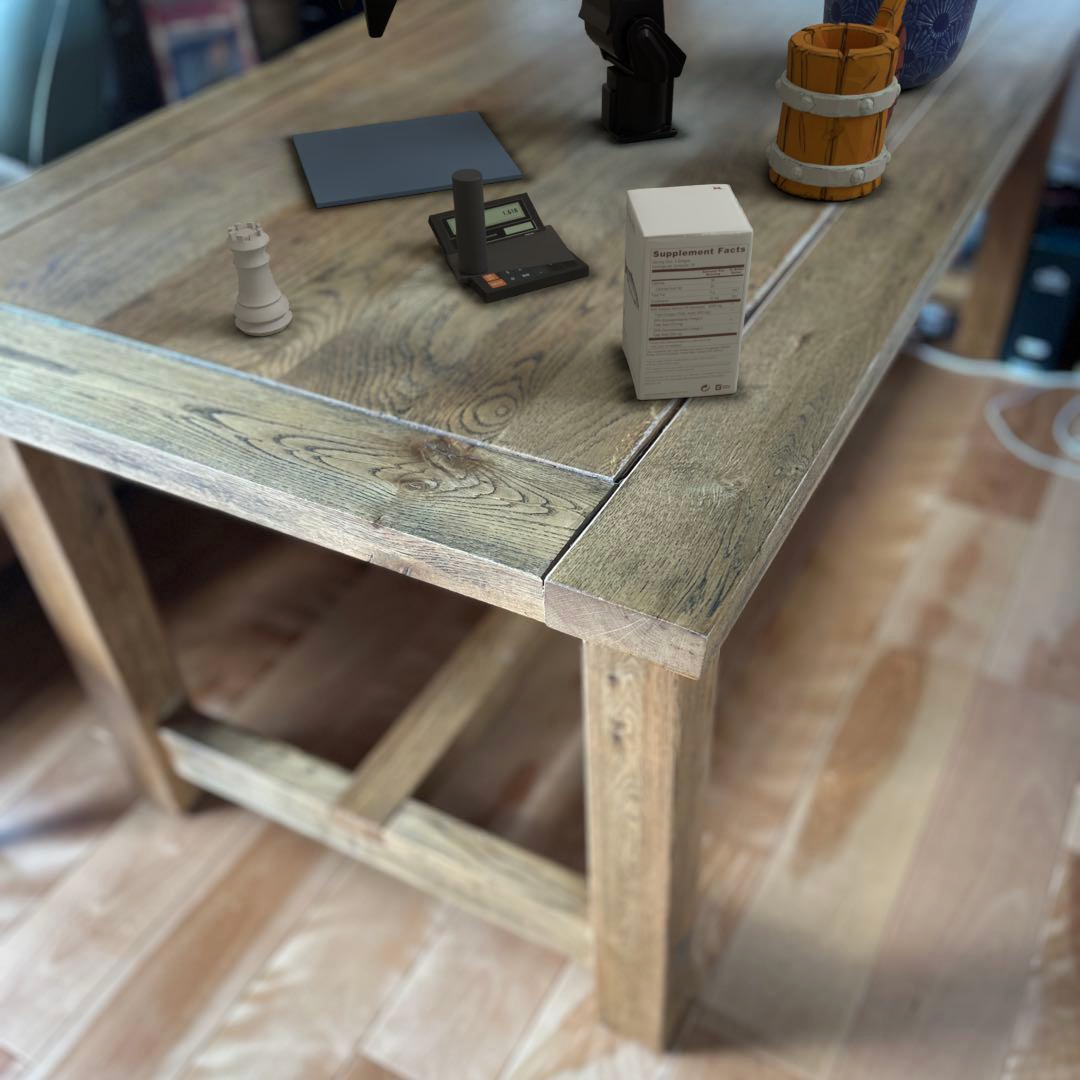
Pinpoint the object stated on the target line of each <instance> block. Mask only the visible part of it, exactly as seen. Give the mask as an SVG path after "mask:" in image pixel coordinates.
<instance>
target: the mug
mask: <svg viewBox="0 0 1080 1080" xmlns="http://www.w3.org/2000/svg"><path fill="white" fill-rule="evenodd" d="M906 1H907V0H883V2H882V4H881V6H880V8H879V11H878V13H877V16H876V18H875V21H874V24H873V26H872V27H871V26H867V25H861V24H853V23H847V24H845V23H839V24H837V25H835V24H832V23H823V22H822V23H817V24H811V25H809V26H806V27H803V28H801V29H800V30H798V31H796V32H795V33H794V34H792V35H791V36H790V38H789V39H788V41H787V53H786V54H787V55H786V69H785V70H784V71H782V72H781V73H782V74H781V75H780V76H781V77H779V78H777V80H776V82H775V85H774V86H775V89H776V90H777V91H778V92H779V93H778V96H779V98H780V99H781V102H782V103H781V109H780V115H779V121H778V127H777V135H776V136H774V138H773V139H772V140H771V142H770V144H769V145H768V146H767V148H766V150H765V156H766V158H767V159H768V165H769V166H770V168H769V171H768V174H769V181H770V182H771V183H772V184H773V185H775V186H776V187H777V189H781V190H782V191H783V192H785V193H787V194H790V195H793V196H796V197H799V198H800V197H801V198H805V199H811V200H815V201H820V200H824V201H834V202H837V201H841V202H843V201H849V200H854V199H857V198H859V197H865V196H867V195H869V194H871V193H872V192H873V191H875V190H876V189H877V188H878V187H879V186H880V184H881V182H882V174H884V172H885V170H886V166H889V164H890V162H891V160H892V157H891V152H889V151H888V148H887V144H886V143H885V136H886V130H887V128H888V126H889V124H890V120H891V118H892V116H893V112H894V108H895V107H896V105H897V102H898V98H899V95H900V94H901V91H902V89H900V81H898V78H899V73H900V69H902V68H903V59H904V45H905V42H906V30H905V26H904V22H903V19H901V17H902V15H903V12H904V8H905V5H906Z"/></svg>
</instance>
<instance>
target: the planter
mask: <svg viewBox="0 0 1080 1080" xmlns="http://www.w3.org/2000/svg"><path fill="white" fill-rule="evenodd" d="M978 1H979V0H907V1H906V5H905V8H904V12H903V15H902V17H901V19H903V22H904V26H905V30H906V42H905V45H904V59H903V68H902V69H900V73H899V78H898V81H900V89H901V90H904V89H905V90H906V89H912V88H917V87H921V86H924V85H927V84H929V83H931V82H933V81H935V80H937V79H938V78H939V77H940V76H942V75H943V74H944V73H946V71H948V70H949V69H950V67H952V65H953V64H954V62H955V61H956V59H957V58H958V56H959V54H960V53H961V51H962V49H963V47H964V45H965V42H966V40H967V37H968V35H969V31H970V28H971V26H972V21H973V19H974V18H973V17H974V14H975V11H976V8H977V4H978ZM882 2H883V0H824V1H823V14H822V15H823V16H822V24H823V23H832V24H835V25H837V24H839V23H845V24H847V23H853V24H861V25H867V26H871V27H872V26H873V24H874V21H875V18H876V16H877V13H878V11H879V8H880V6H881V4H882Z"/></svg>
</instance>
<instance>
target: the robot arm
mask: <svg viewBox="0 0 1080 1080" xmlns="http://www.w3.org/2000/svg"><path fill="white" fill-rule="evenodd" d="M356 2H357V0H338V4H339V7H340V8H341V10H343V11H352V10H354V8H355V4H356ZM397 2H398V0H362V6H363V13H364V18H365V24H366V28H367V32H368V36H369V38H371V39H381V38H382V37H383V36H384V34H385V31H386V29H387V26H388V24H389V22H390V20H391V19H390V18H391V17H392V14H393V12H394V9H395V7H396V4H397ZM577 17H578V18H579V19H581V20H583V23H584V30H585V33H586V36H588V38H589V39H590V41H592V43H594V45H596V46H597V47H598V49H599V52H600V55H601V57H602V59H603V60H604V61H605V62H608V63H610V64H611V65H608V66H606V82H603V83H602V85H601V112H600V113H601V114H600V115H601V117H600V124H602V126H603V127H604V128H605V129H606V130H607V131H608V132H609V133H610V134H611V136H613V137H614V138H615V139H616V140H617V141H618V142H619V143H628V142H636V141H642V140H643V141H644V140H650V139H651V140H652V139H658V138H665V137H671V136H676V135H678V133H679V129H678V128H677V127H676V126H675V125H674V124H673V112H674V111H673V109H674V108H673V107H674V92H675V91H674V90H675V79H676V78H680V77H681V75H682V72H683V71H684V66H685V63H686V61H687V57H688V56H687V54H686V53H685V52H684V51H683V49H682V48H680V46H679V45H678V44H677V43H676V42H675V41H674V40H673V39H672V38H671V37H670V36H669V35H668V34H667V32H666V16H665V1H664V0H581V5H580V9H579V12H578V14H577Z"/></svg>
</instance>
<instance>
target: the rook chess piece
mask: <svg viewBox="0 0 1080 1080" xmlns="http://www.w3.org/2000/svg"><path fill="white" fill-rule="evenodd" d="M234 227H235V228H234ZM227 233H228V236H227V238H226V240H225V242H224V243H225V247H227V249H229V250H230V251H231V252H232V253H233V255H234V256H233V258H232V264H233V265H234V266H235V268H236V271H237V277H238V294H237V295H236V302H235V303H234V305H233V314H234V316H235V317H236V318H235V319H234V320H235V321H234V322H235V326H236V327H237V328H238V329H239V330H241V331H242V332H243V333H245V334H246V335H249V336H252V337H265V336H266V337H267V336H272V335H276V334H278V333H280V332H282V331H283V330H285V329H286V328H287V327H288V325H290V323H291V320H292V319H293V313H292V311H291V310H290V302H289V300H288V298H287V297H286V296H285V295H284V294H282V290H281V289H280V288H278V287H277V283H276V282H275V280H274V276H273V274H272V271H271V268H270V264H269V262H270V260H271V255H270V254H269V253H268V252H267V251H266V247H268V244H269V242H270V236H269V235H268V234H267V233H266V232H265V231H264V229H263V225H262V224H261V223H260V222H257V223H255V222H254V221H253V220H248V221H246V227H243V223H242V222H240V221H238V222H236V223H234V226H229V227H228V228H227Z"/></svg>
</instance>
